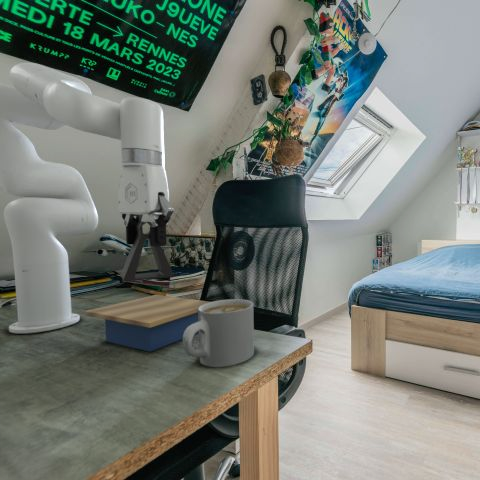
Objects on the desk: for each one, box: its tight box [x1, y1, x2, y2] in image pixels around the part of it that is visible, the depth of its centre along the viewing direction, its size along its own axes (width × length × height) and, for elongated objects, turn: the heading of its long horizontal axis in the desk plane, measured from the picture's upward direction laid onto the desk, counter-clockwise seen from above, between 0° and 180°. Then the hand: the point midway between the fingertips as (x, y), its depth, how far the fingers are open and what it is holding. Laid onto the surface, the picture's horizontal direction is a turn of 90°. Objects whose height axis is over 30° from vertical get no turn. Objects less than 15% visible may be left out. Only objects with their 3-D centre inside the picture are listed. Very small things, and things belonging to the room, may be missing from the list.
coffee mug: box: [182, 298, 255, 368], centre depth 62 cm, size 13×10×10 cm
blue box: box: [104, 312, 199, 353], centre depth 73 cm, size 14×12×6 cm
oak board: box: [85, 294, 211, 328], centre depth 72 cm, size 20×16×1 cm
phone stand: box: [120, 220, 175, 282], centre depth 69 cm, size 9×6×12 cm, turn 131°
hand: (146, 244), depth 69 cm, fingers closed on phone stand, 6 cm apart
